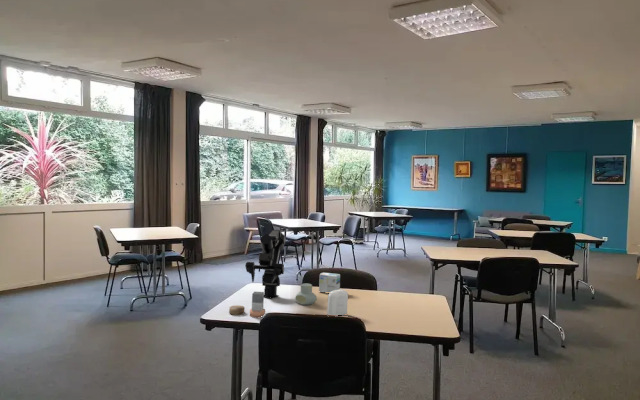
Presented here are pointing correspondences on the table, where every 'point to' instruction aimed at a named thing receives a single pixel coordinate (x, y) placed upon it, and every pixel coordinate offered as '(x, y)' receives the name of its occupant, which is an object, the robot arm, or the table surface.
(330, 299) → the photo printer
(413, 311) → the table surface
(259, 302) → the plate
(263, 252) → the robot arm
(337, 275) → the light bulb box
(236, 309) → the stand
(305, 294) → the grey plastic tee piece
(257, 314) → the stand
